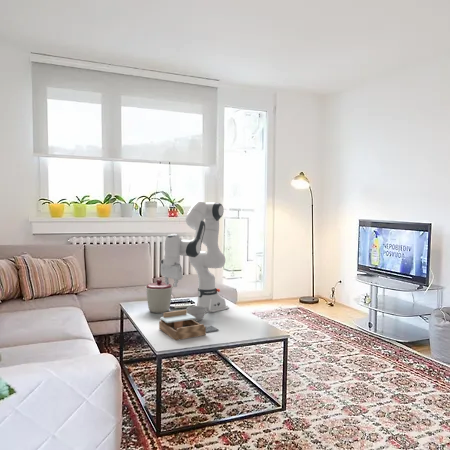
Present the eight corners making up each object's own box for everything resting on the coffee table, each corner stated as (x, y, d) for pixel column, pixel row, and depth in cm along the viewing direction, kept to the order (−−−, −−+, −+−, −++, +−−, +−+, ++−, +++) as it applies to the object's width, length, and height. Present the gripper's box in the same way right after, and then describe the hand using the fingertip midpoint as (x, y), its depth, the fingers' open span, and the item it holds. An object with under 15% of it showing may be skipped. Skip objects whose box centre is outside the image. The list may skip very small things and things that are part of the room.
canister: (176, 313, 285) (176, 281, 283) (148, 315, 278) (148, 282, 276) (169, 306, 301) (169, 276, 300) (142, 308, 295) (142, 277, 293)
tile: (211, 327, 256) (211, 325, 256) (218, 330, 249) (218, 329, 249) (199, 329, 252) (199, 327, 252) (206, 332, 245) (206, 331, 245)
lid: (188, 314, 259) (188, 309, 259) (195, 318, 251) (195, 313, 251) (160, 318, 250) (160, 313, 250) (167, 323, 242) (167, 317, 241)
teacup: (188, 323, 264) (188, 309, 263) (185, 318, 274) (185, 305, 274) (211, 321, 267) (211, 308, 267) (206, 316, 278) (207, 304, 277)
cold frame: (187, 324, 260) (187, 314, 260) (205, 334, 242) (205, 324, 241) (159, 329, 251) (159, 318, 251) (175, 340, 232) (175, 329, 232)
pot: (180, 327, 255) (180, 318, 254) (184, 330, 250) (184, 320, 249) (171, 329, 252) (171, 319, 251) (175, 331, 247) (175, 321, 246)
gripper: (185, 263, 250) (184, 287, 250) (168, 260, 266) (167, 282, 267) (175, 264, 246) (175, 288, 246) (158, 260, 263) (158, 283, 263)
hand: (171, 285), depth 257 cm, fingers open, 8 cm apart
